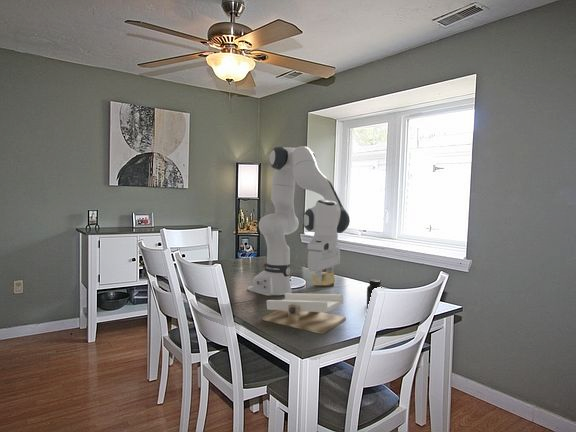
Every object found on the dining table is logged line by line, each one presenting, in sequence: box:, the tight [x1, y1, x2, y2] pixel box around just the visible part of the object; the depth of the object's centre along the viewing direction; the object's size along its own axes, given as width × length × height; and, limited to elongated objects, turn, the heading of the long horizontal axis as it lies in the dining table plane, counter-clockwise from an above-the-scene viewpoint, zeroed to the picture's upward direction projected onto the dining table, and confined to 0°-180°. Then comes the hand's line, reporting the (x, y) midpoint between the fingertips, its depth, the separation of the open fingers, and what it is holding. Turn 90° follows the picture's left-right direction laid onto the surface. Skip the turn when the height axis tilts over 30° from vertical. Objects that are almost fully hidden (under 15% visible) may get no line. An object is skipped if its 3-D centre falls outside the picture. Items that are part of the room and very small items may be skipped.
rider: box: [312, 271, 336, 286], centre depth 150 cm, size 6×6×4 cm
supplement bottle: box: [366, 278, 383, 308], centre depth 175 cm, size 7×7×12 cm
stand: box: [261, 304, 347, 335], centre depth 155 cm, size 26×20×8 cm
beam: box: [266, 292, 344, 313], centre depth 155 cm, size 26×14×4 cm, turn 58°
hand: (324, 279), depth 150 cm, fingers closed on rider, 6 cm apart
